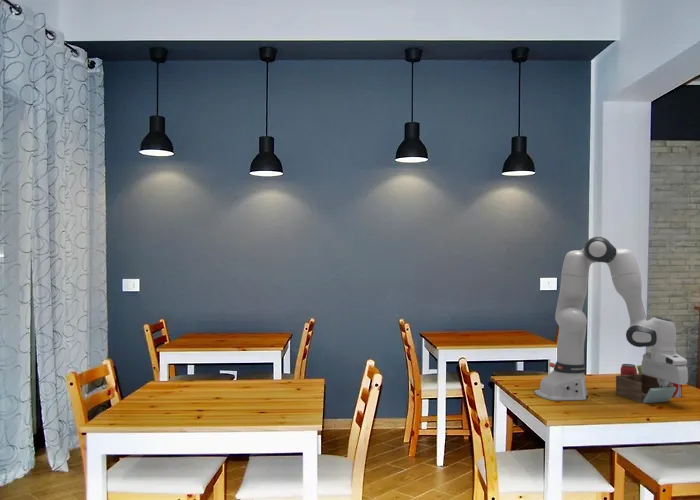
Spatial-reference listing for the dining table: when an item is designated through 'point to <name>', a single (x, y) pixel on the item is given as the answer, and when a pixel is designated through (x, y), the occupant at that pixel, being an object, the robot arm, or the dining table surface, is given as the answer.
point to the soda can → (678, 390)
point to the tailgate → (659, 394)
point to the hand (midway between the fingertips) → (663, 390)
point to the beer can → (628, 369)
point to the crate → (635, 386)
